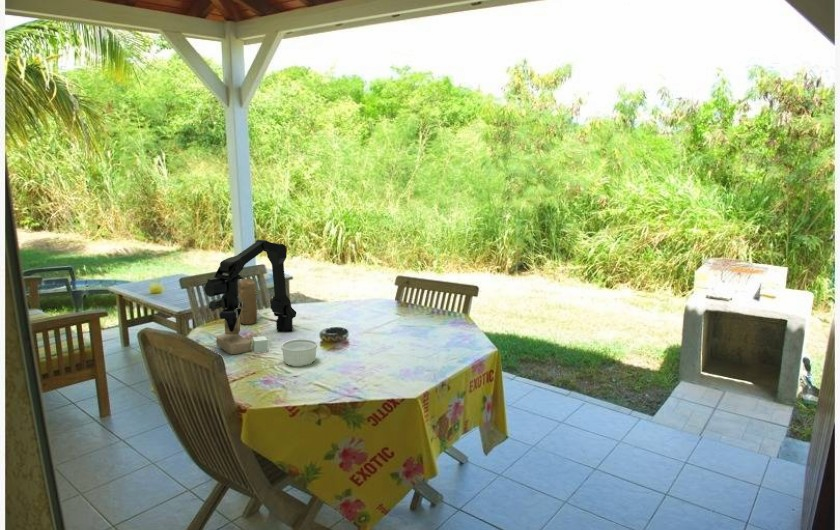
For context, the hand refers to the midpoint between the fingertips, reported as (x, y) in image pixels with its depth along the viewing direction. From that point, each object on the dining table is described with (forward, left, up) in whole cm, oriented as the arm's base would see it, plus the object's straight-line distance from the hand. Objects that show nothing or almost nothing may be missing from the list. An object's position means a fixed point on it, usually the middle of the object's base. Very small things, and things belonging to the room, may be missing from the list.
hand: (232, 329), depth 224 cm
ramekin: (-27, +18, -8) cm, 33 cm away
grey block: (-11, +4, -8) cm, 14 cm away
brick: (0, 0, -8) cm, 8 cm away
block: (-1, -36, -8) cm, 37 cm away
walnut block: (0, 0, -1) cm, 1 cm away
